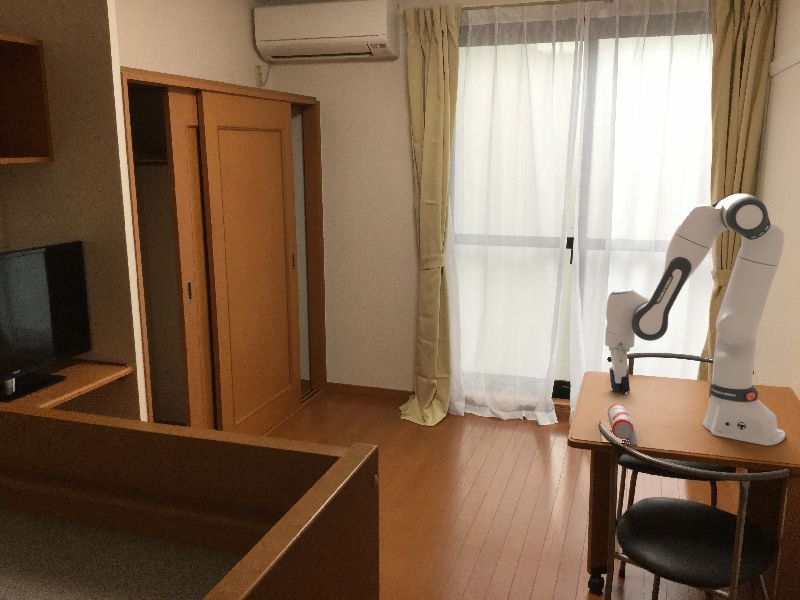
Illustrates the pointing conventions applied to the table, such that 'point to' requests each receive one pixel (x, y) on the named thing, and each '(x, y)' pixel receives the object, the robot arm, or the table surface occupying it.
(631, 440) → the mat
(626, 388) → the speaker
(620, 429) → the beer can
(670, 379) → the table surface
